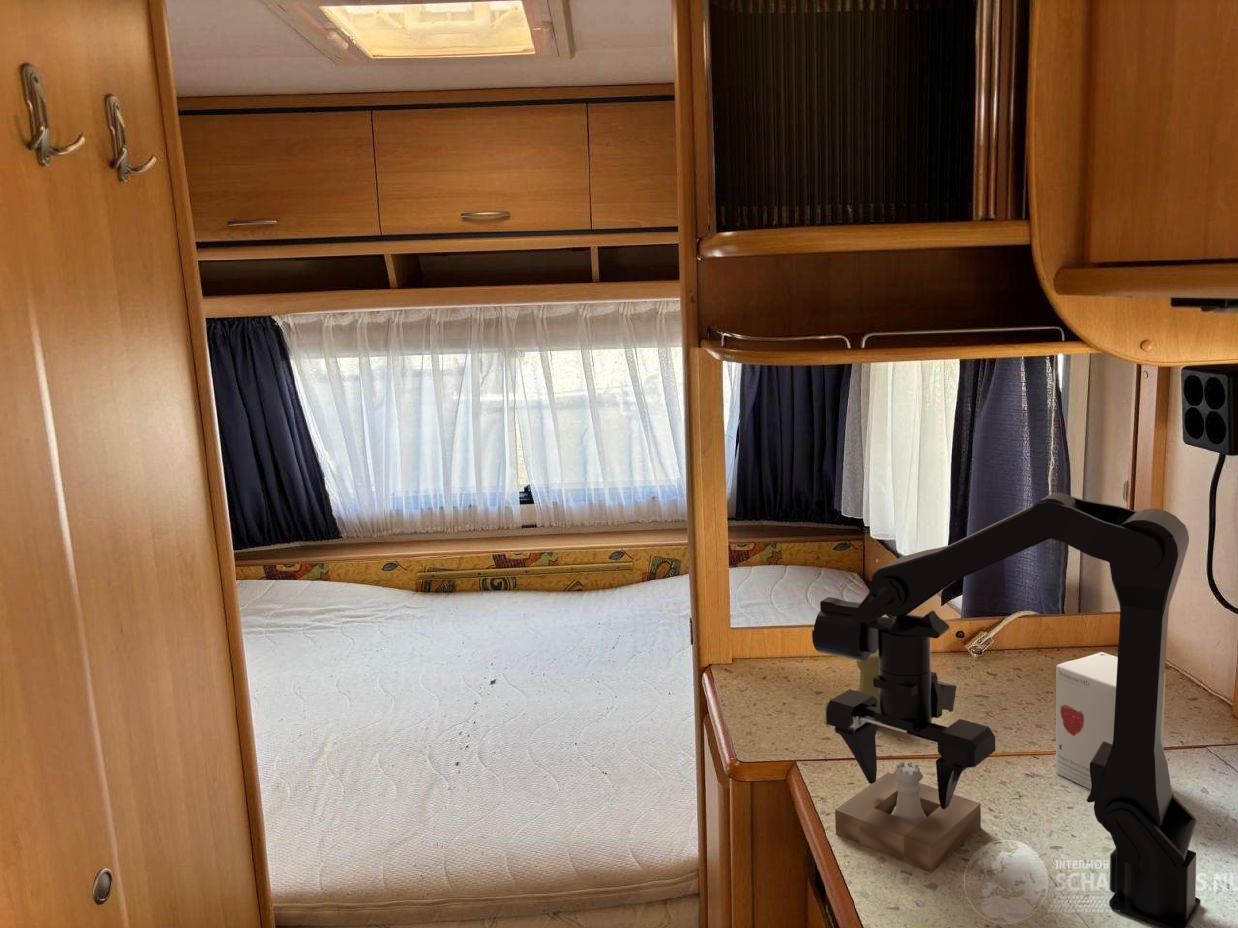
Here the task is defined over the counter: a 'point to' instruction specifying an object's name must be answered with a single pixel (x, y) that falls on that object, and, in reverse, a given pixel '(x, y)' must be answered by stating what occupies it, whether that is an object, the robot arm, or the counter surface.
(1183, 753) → the counter surface
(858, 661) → the cork
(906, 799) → the rook chess piece
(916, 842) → the walnut socket
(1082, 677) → the supplement box
